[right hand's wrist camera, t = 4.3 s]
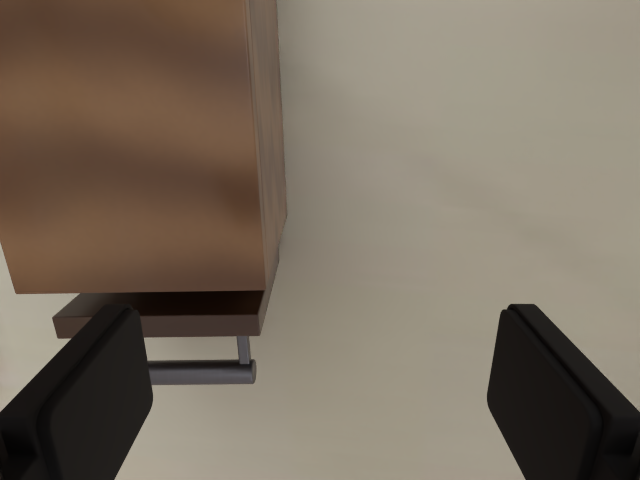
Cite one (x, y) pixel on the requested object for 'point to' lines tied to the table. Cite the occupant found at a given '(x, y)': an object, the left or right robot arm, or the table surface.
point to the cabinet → (140, 145)
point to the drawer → (185, 327)
